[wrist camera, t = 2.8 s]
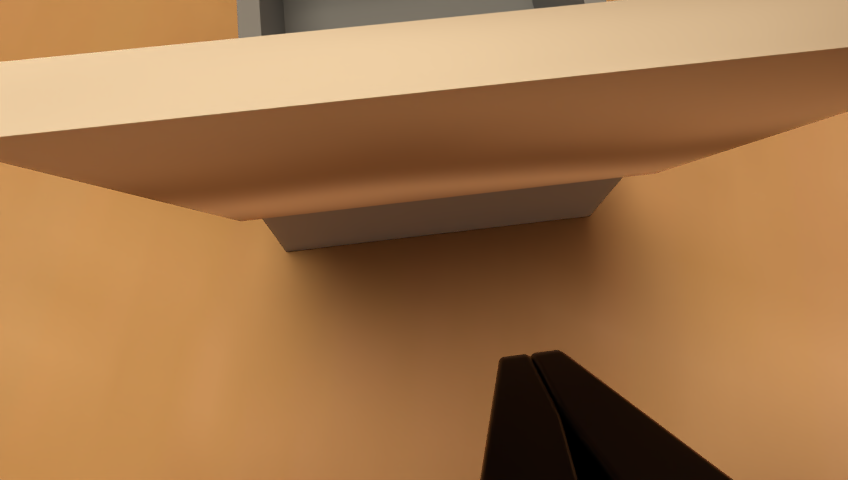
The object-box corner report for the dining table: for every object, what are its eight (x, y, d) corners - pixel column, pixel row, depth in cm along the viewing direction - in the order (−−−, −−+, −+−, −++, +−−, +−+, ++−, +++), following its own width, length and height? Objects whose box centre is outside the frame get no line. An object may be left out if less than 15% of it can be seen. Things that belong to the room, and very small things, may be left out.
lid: (653, 149, 16) (655, 173, 16) (237, 196, 15) (240, 221, 15) (1135, -51, 6) (1144, 15, 6) (-79, 70, 5) (-71, 144, 5)
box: (589, 215, 21) (643, 152, 16) (286, 252, 20) (246, 197, 15) (535, -35, 23) (567, -153, 19) (268, -9, 23) (229, -124, 18)
